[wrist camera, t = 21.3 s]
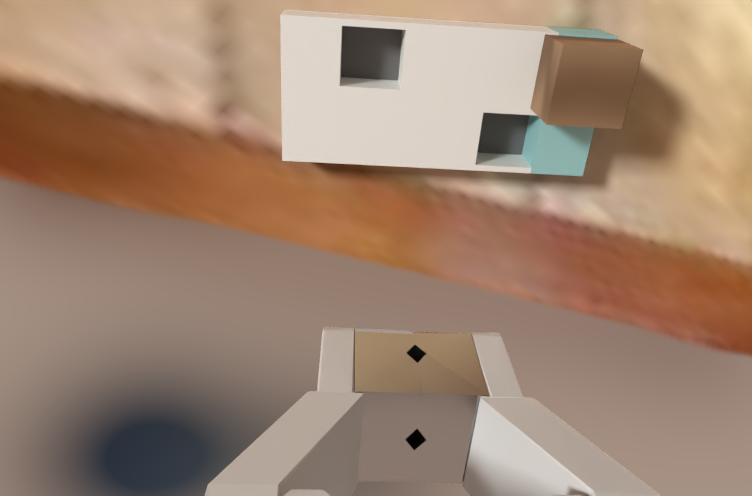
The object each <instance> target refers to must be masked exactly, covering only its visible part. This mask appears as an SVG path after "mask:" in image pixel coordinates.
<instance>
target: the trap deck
mask: <svg viewBox="0 0 752 496" xmlns="http://www.w3.org/2000/svg"><path fill="white" fill-rule="evenodd" d="M280 20H281V101H282V161H299V162H319V163H338V164H357V165H377V166H396V167H415V168H435V169H454V170H473V171H493V172H512V173H532V174H551V175H570V176H583V172H584V168H585V164H586V160H587V156H588V152H589V148H590V144H591V140H592V136H593V132H594V128H592V127H576V126H560V125H546V124H545V123H544V122H543V121H542V120H541V119H540V118H539V117H538V116H537V115H536V114H535V113H534V112H533V111H532V110H531V109H530V107H531V102H532V97H533V92H534V87H535V82H536V77H537V72H538V67H539V62H540V57H541V52H542V47H543V42H544V36H545V34H547V35H561V36H575V37H589V38H603V39H617V36H614V35H612V34H609V33H606V32H604V31H601V30H592V29H577V28H562V27H547V26H531V25H516V24H501V23H486V22H471V21H456V20H441V19H425V18H410V17H395V16H380V15H365V14H350V13H335V12H319V11H304V10H289V9H285V10H284V11H283V13H282V14H281V15H280Z"/></svg>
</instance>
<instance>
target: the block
mask: <svg viewBox="0 0 752 496" xmlns="http://www.w3.org/2000/svg"><path fill="white" fill-rule="evenodd" d="M642 53H643V49H640V48H638V47H635V46H633V45H630V44H628V43H625V42H623V41H620V40H617V39H603V38H589V37H575V36H561V35H547V34H545V36H544V42H543V47H542V52H541V57H540V62H539V67H538V72H537V77H536V82H535V87H534V92H533V97H532V102H531V107H530V109H531V110H532V111H533V112H534V113H535V114H536V115H537V116H538V117H539V118H540V119H541V120H542V121H543V122H544V123H545V124H546V125H560V126H576V127H592V128H608V129H622V125H623V122H624V118H625V115H626V111H627V107H628V104H629V100H630V96H631V93H632V89H633V86H634V82H635V78H636V75H637V71H638V68H639V64H640V60H641V57H642Z"/></svg>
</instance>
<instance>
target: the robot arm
mask: <svg viewBox="0 0 752 496" xmlns="http://www.w3.org/2000/svg"><path fill="white" fill-rule="evenodd" d="M358 481H417V482H438V483H458V484H463V487H464V488H465V490H466V491H467V492H468V493H469V495H470V496H660V494H658V493H657V492H656V491H654V490H653V489H652V488H650V487H649V486H648V485H647V484H645V483H644V482H643V481H641V480H640V479H639V478H637V477H636V476H635V475H633V474H632V473H631V472H630V471H628V470H627V469H626V468H624V467H623V466H622V465H620V464H619V463H618V462H616V461H615V460H614V459H612V458H611V457H610V456H609V455H607V454H606V453H605V452H603V451H602V450H601V449H599V448H598V447H597V446H595V445H594V444H593V443H592V442H590V441H589V440H588V439H586V438H585V437H584V436H582V435H581V434H580V433H579V432H577V431H576V430H575V429H573V428H572V427H571V426H569V425H568V424H567V423H565V422H564V421H563V420H562V419H560V418H559V417H558V416H556V415H555V414H554V413H552V412H551V411H550V410H548V409H547V408H546V407H545V406H543V405H542V404H541V403H539V402H538V401H537V400H535V399H534V398H525V397H524V394H523V392H522V389H521V387H520V384H519V381H518V378H517V376H516V373H515V370H514V368H513V365H512V362H511V360H510V357H509V354H508V351H507V349H506V346H505V344H504V341H503V338H502V336H501V335H500V334H499V333H477V332H473V333H471V332H470V333H437V332H435V333H434V332H412V331H400V330H382V329H364V328H354V330H353V328H344V327H324V329H323V331H322V343H321V354H320V366H319V377H318V388H317V392H316V391H309V392H307V393H306V394H305V395H304V396H303V397H302V398H301V399H300V400H298V402H296V403H295V404H294V405H293V406H292V407H291V408H290V409H289V410H288V411H287V412H286V413H285V414H283V415H282V416H281V417H280V418H279V419H278V420H277V421H276V422H275V423H274V424H273V425H272V426H271V427H269V428H268V429H267V430H266V431H265V432H264V433H263V434H262V435H261V436H260V437H259V438H258V439H257V440H255V441H254V442H253V443H252V444H251V445H250V446H249V447H248V448H247V449H246V450H245V451H244V452H243V453H241V454H240V455H239V456H238V457H237V458H236V459H235V460H234V461H233V462H232V463H231V464H230V465H229V466H227V467H226V468H225V469H224V470H223V471H222V472H221V473H220V474H219V475H218V476H217V477H216V478H215V479H214V480H212V481H211V482H210V483H209V484H208V486H207V490H206V494H205V496H350V495H351V494H352V492H353V491H354V489H355V487H356V486H357V484H358Z"/></svg>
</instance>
